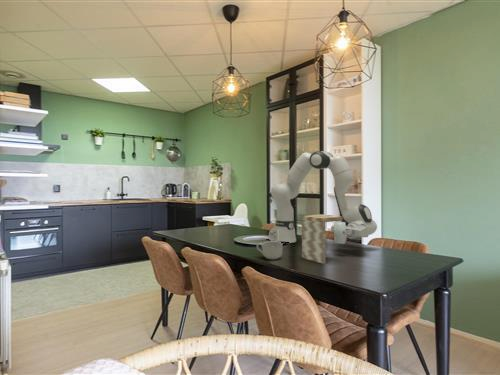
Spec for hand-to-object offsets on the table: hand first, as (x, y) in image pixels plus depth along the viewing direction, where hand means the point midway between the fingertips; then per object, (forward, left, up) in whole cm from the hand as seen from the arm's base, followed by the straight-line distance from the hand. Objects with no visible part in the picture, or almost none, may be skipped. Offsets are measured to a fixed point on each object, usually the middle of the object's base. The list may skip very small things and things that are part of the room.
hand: (338, 231), depth 165 cm
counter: (0, -13, -13) cm, 18 cm away
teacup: (-17, -34, -13) cm, 40 cm away
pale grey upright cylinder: (0, +1, -6) cm, 6 cm away
